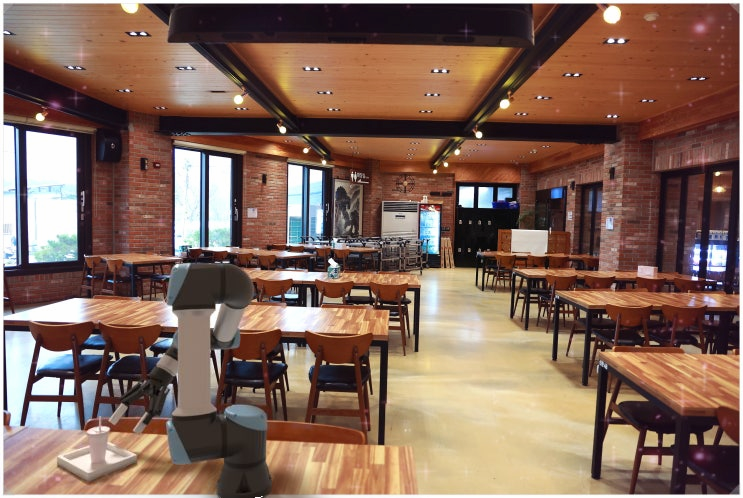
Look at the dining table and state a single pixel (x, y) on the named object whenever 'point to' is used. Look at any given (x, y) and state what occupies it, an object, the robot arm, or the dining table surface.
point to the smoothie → (98, 442)
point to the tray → (87, 470)
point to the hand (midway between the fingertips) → (123, 427)
